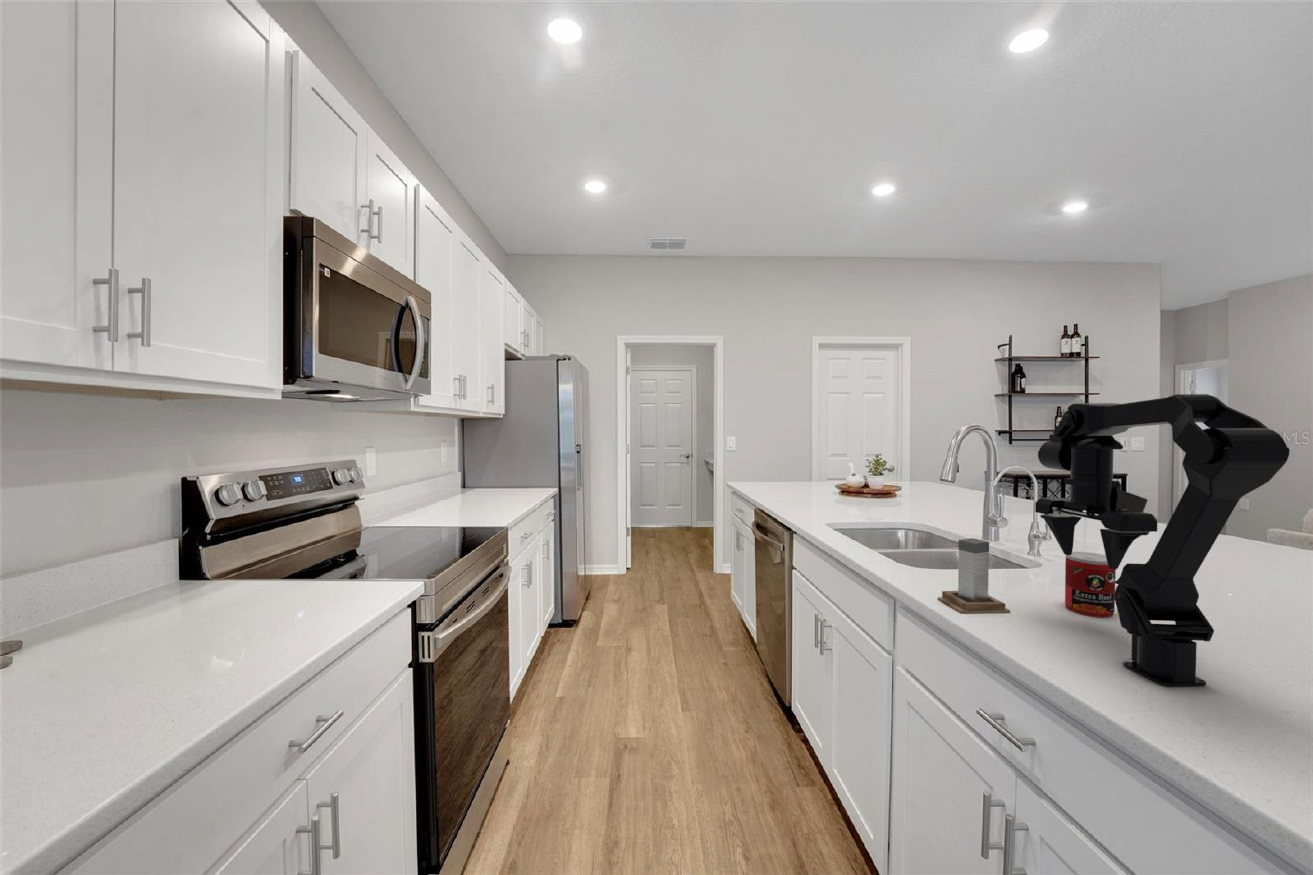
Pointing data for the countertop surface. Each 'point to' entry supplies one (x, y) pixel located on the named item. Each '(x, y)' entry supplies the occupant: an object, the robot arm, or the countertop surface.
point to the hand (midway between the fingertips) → (1089, 561)
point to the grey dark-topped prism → (973, 570)
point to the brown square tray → (972, 604)
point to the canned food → (1089, 584)
